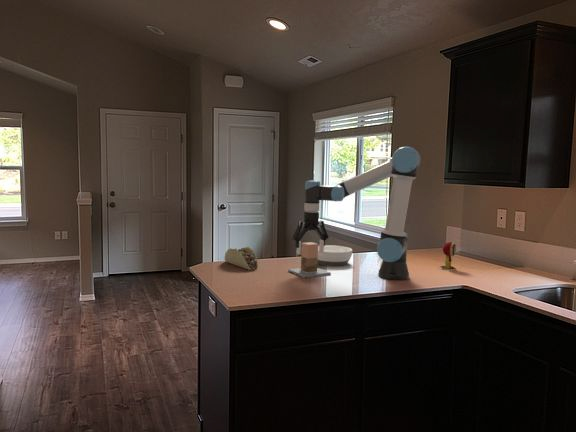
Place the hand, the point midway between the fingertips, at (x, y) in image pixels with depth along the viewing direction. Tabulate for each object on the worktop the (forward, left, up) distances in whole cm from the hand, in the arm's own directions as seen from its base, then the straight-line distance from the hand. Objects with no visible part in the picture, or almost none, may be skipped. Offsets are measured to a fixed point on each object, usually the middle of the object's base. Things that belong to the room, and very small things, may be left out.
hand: (310, 253), depth 252 cm
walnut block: (0, 0, -9) cm, 9 cm away
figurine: (-20, -78, -10) cm, 81 cm away
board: (0, 0, -10) cm, 10 cm away
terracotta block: (0, 0, -2) cm, 2 cm away
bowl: (+18, -26, -10) cm, 33 cm away
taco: (+29, +25, -11) cm, 40 cm away
